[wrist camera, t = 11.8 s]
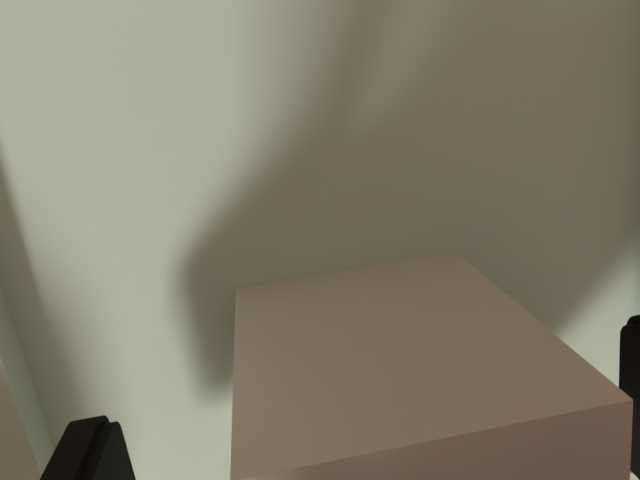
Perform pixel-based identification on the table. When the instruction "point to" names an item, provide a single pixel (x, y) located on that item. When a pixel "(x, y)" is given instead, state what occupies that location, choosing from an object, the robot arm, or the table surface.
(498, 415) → the beige block
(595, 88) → the parts tray
